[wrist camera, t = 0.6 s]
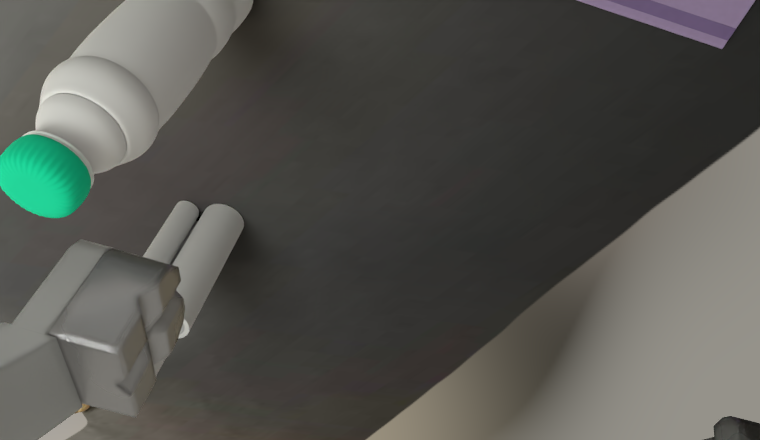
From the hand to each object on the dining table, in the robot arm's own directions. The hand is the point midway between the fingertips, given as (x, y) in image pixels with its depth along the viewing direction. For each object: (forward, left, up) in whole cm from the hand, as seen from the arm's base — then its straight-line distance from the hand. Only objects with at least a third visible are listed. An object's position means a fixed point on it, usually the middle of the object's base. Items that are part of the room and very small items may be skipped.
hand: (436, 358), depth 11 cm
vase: (+52, -20, -42) cm, 70 cm away
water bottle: (+22, -20, -42) cm, 51 cm away
